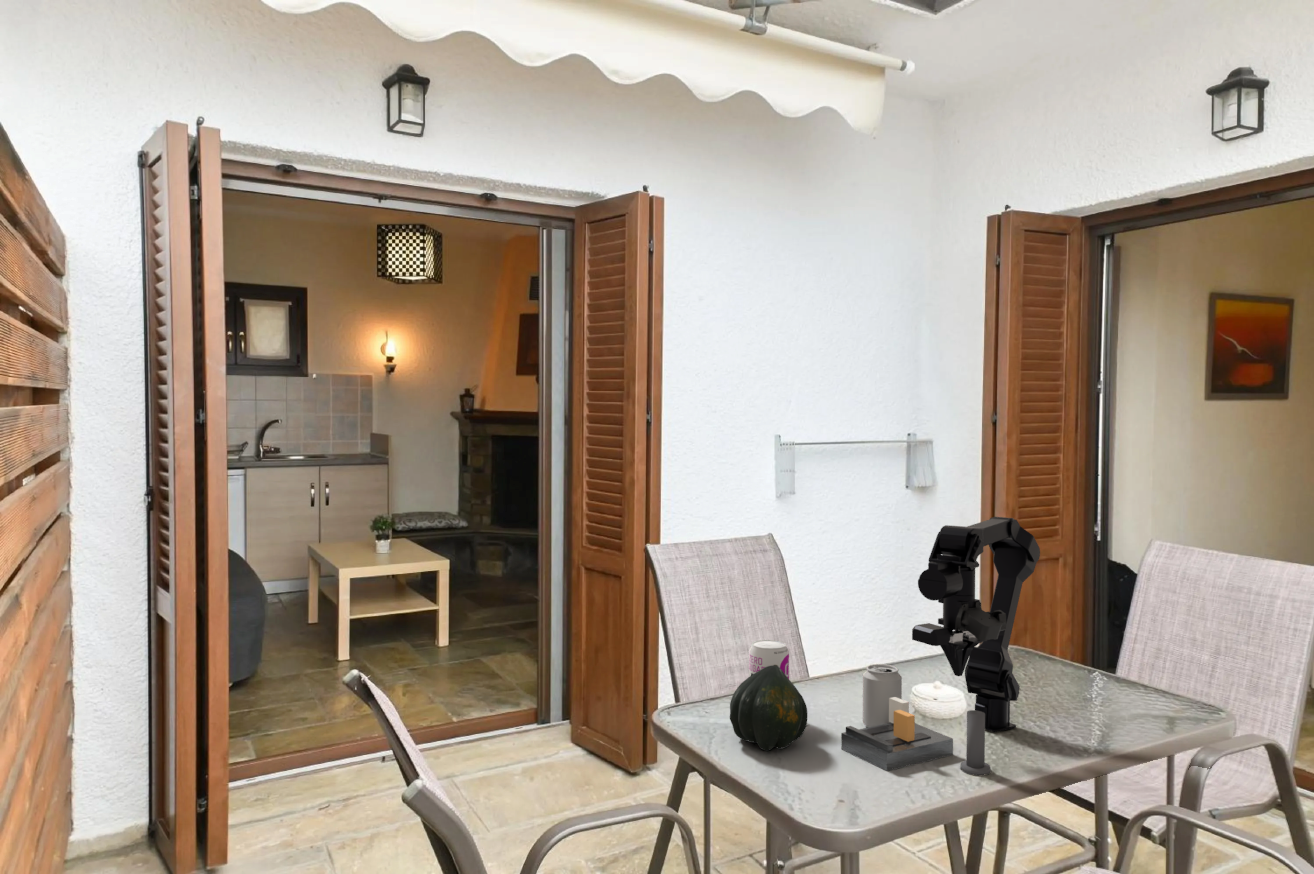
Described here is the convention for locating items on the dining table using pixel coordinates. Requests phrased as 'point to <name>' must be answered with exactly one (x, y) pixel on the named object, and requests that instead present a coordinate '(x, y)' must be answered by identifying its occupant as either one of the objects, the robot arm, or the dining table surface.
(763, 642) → the supplement can
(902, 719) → the slider
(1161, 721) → the dining table surface
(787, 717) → the squash
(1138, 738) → the dining table surface
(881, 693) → the can
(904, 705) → the slider
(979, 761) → the rubber post
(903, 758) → the breaker block
